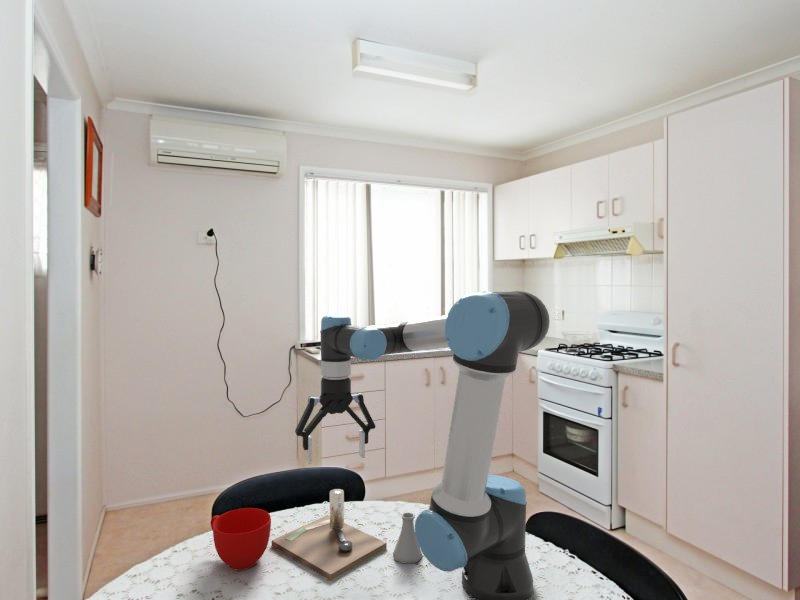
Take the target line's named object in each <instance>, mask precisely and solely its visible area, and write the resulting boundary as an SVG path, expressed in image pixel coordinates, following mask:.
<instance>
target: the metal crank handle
mask: <svg viewBox="0 0 800 600" xmlns="http://www.w3.org/2000/svg"><path fill="white" fill-rule="evenodd" d="M344 502H345V491H344V489H341V488H334V489H331V490H330V491H329V516H330V528H331V529H333V530H335V532H336V534H337V537H338V539H339V541H340V543H339V551H340V552H350V551H351V550H352V542H351V541H346V540H345V538H344V535H343V533H342V531H341V529H342V528H343V527H344V523H345V503H344Z"/></svg>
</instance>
